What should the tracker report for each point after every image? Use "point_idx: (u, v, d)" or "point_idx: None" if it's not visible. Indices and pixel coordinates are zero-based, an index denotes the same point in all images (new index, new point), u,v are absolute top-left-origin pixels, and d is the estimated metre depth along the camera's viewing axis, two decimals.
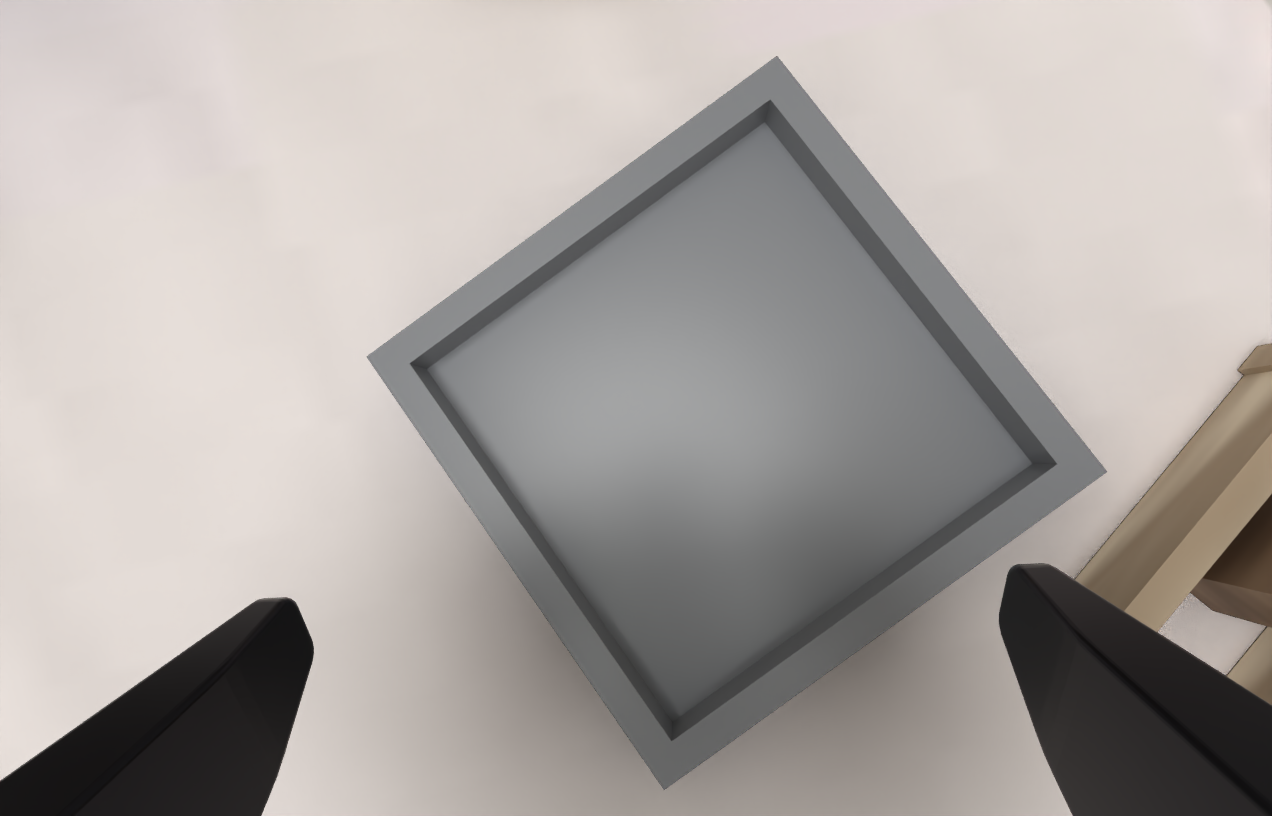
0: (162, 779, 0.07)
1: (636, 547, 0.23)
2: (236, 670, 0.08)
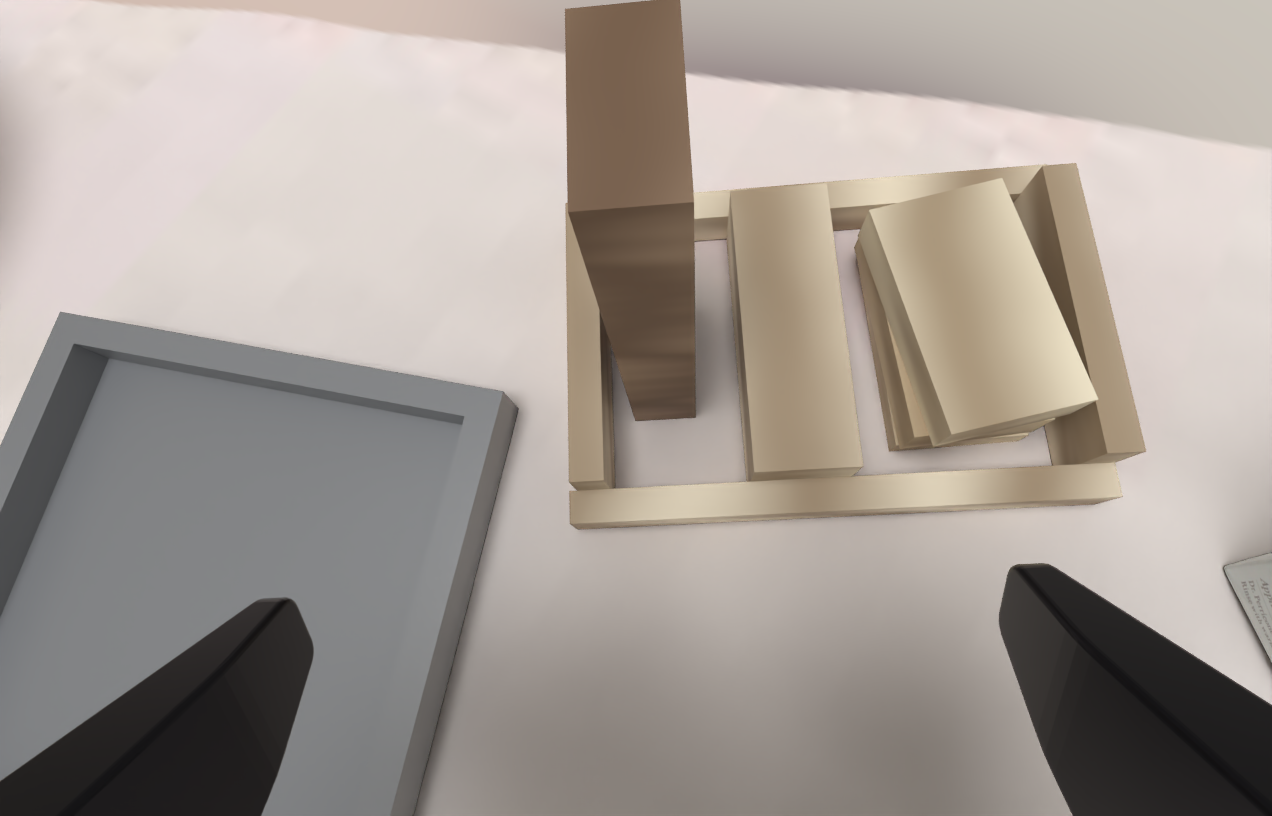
0: (162, 779, 0.07)
1: None
2: (236, 670, 0.08)
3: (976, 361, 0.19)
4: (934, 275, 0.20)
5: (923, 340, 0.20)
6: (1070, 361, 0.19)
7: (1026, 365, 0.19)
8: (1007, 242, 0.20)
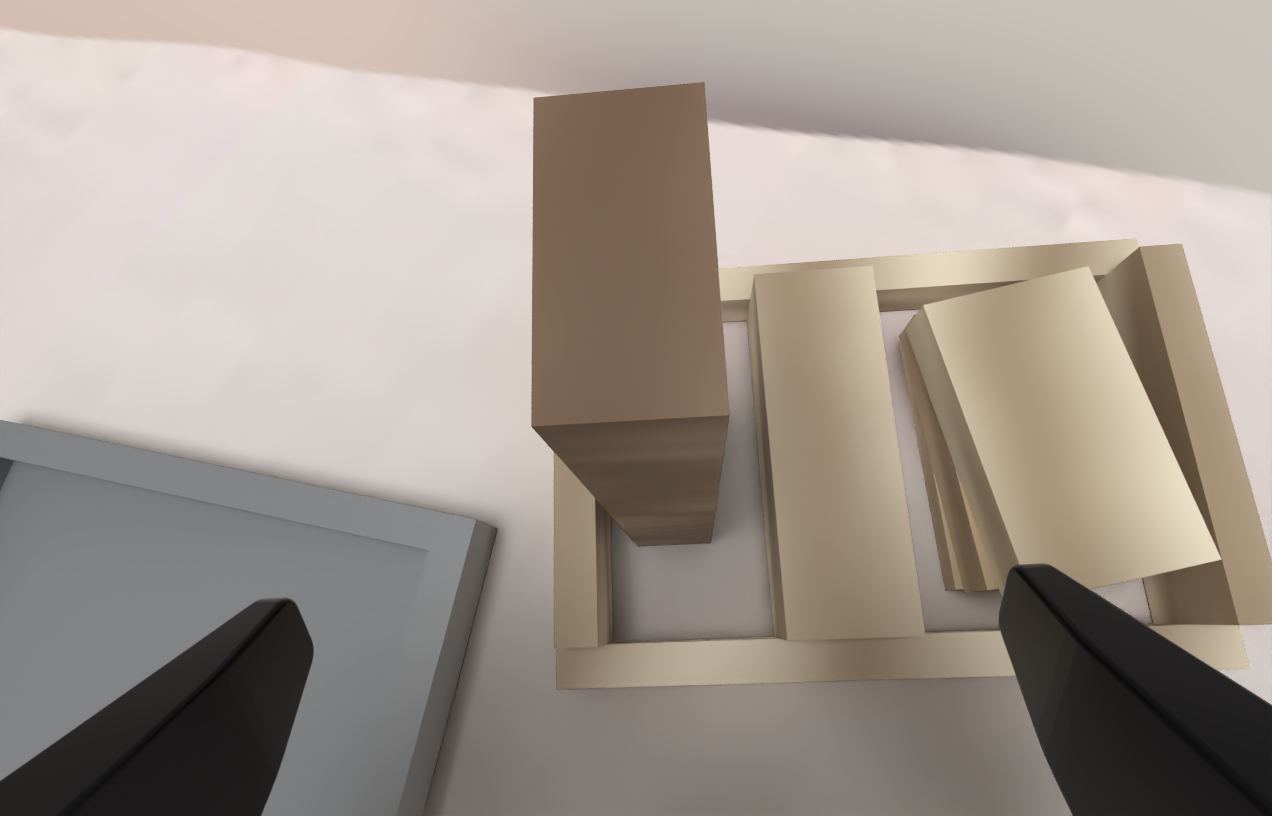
0: (162, 779, 0.07)
1: None
2: (236, 670, 0.08)
3: (1062, 505, 0.15)
4: (1006, 391, 0.16)
5: (994, 477, 0.16)
6: (1182, 506, 0.15)
7: (1126, 511, 0.15)
8: (1097, 349, 0.16)
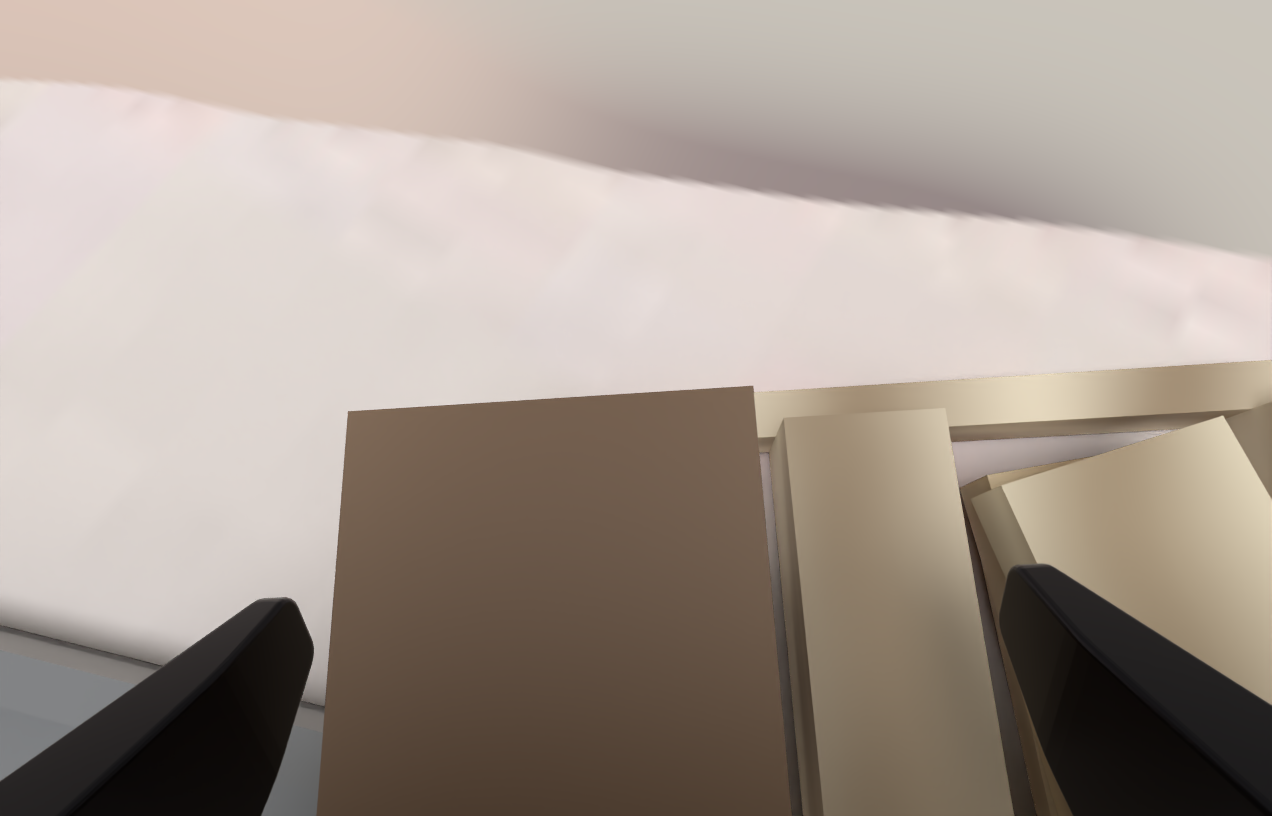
0: (162, 779, 0.07)
1: None
2: (236, 670, 0.08)
3: None
4: (1132, 609, 0.12)
5: None
6: None
7: None
8: (1253, 539, 0.12)
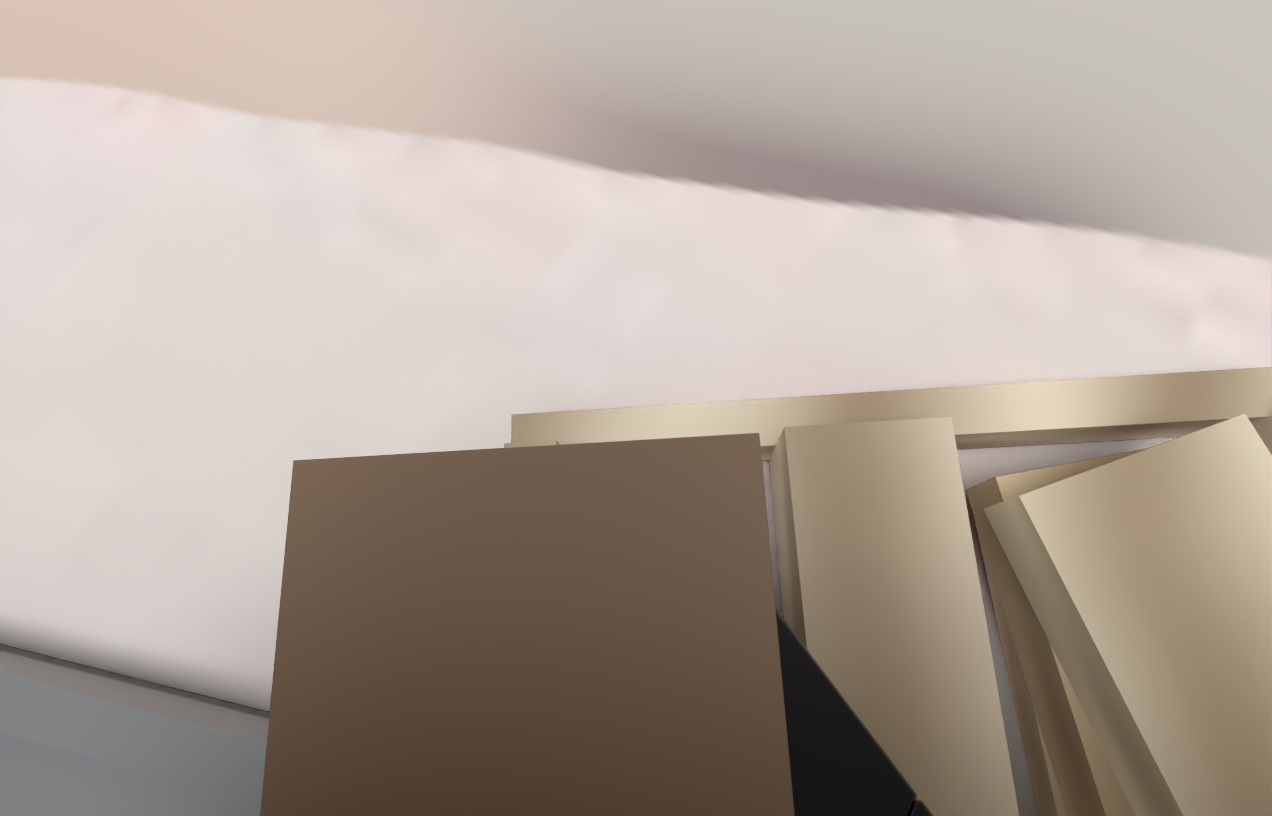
0: None
1: None
2: None
3: None
4: (1163, 623, 0.11)
5: (1170, 766, 0.10)
6: None
7: None
8: None
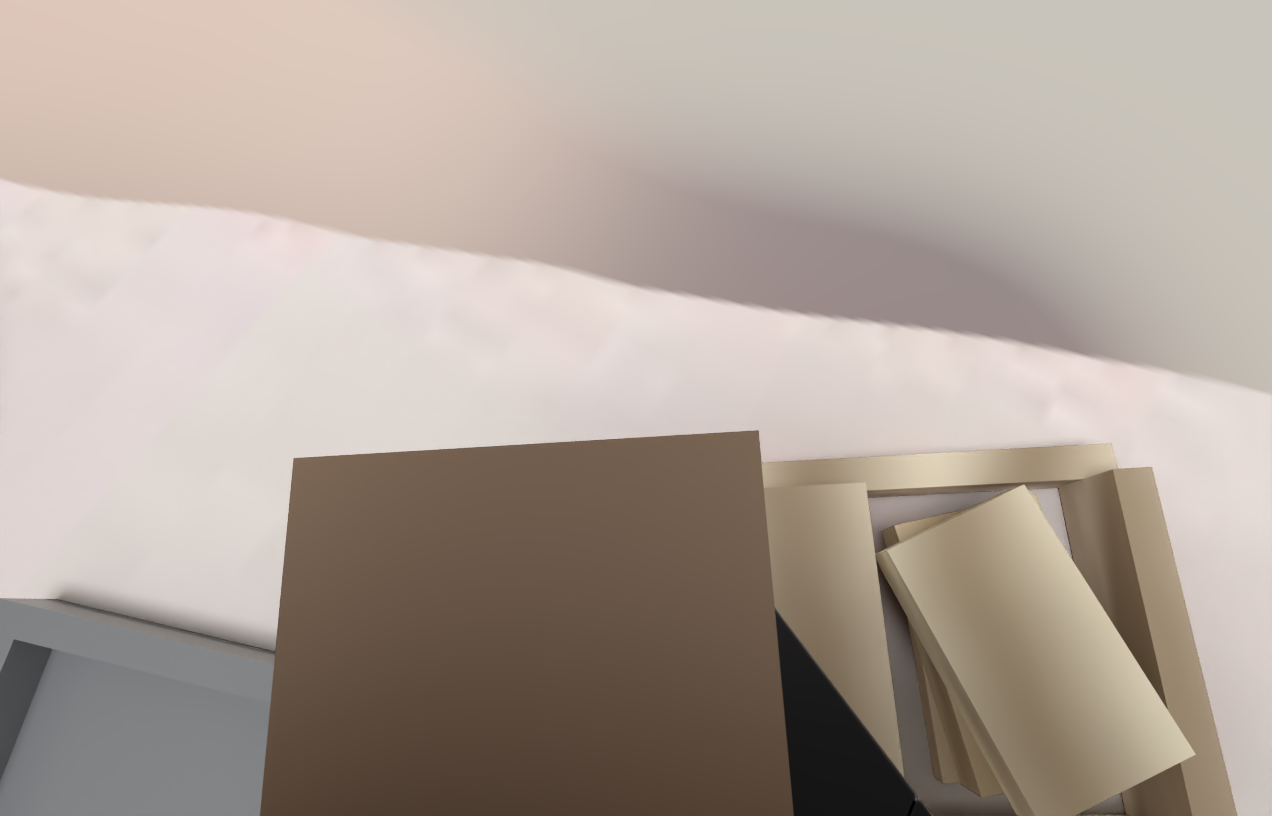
0: None
1: None
2: None
3: (1049, 728, 0.17)
4: (978, 623, 0.18)
5: (985, 712, 0.17)
6: (1153, 709, 0.17)
7: (1106, 723, 0.17)
8: (1048, 566, 0.18)
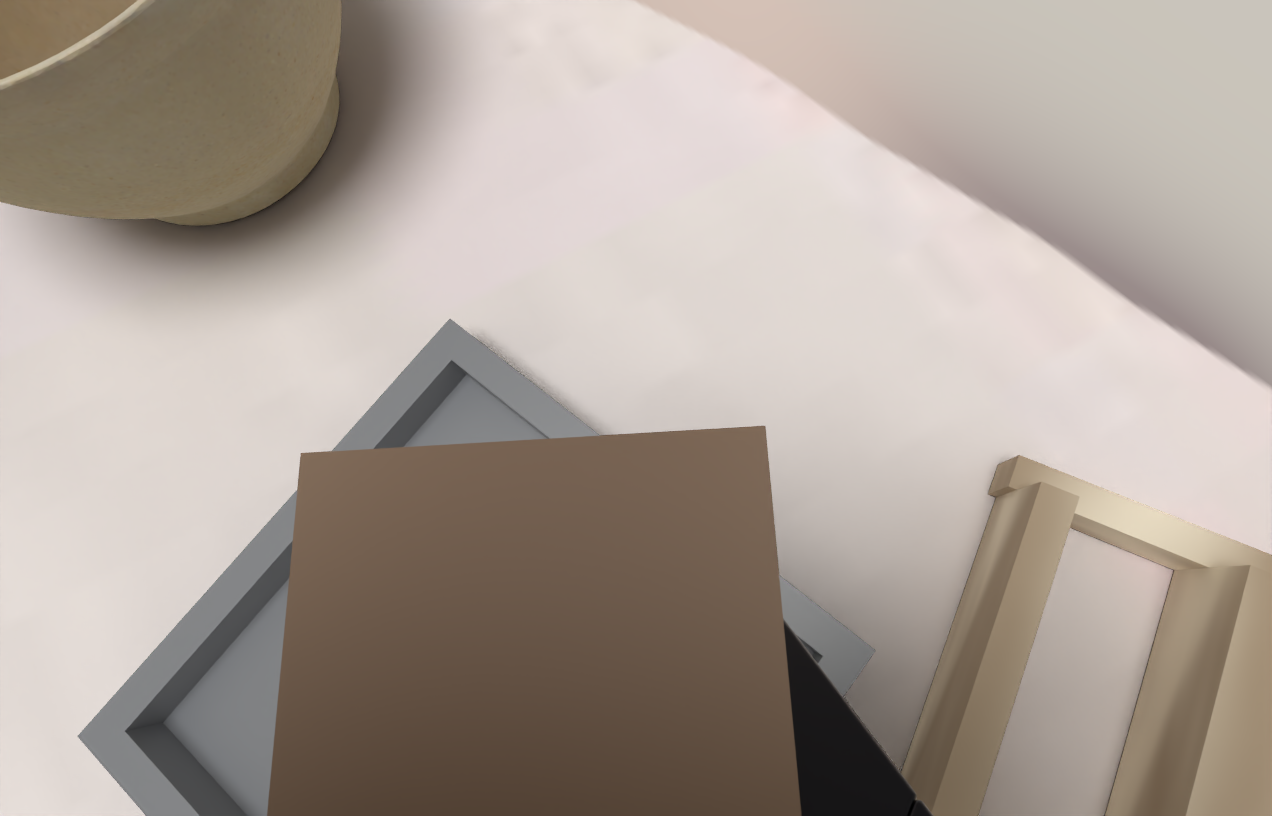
0: None
1: None
2: None
3: None
4: None
5: None
6: None
7: None
8: None
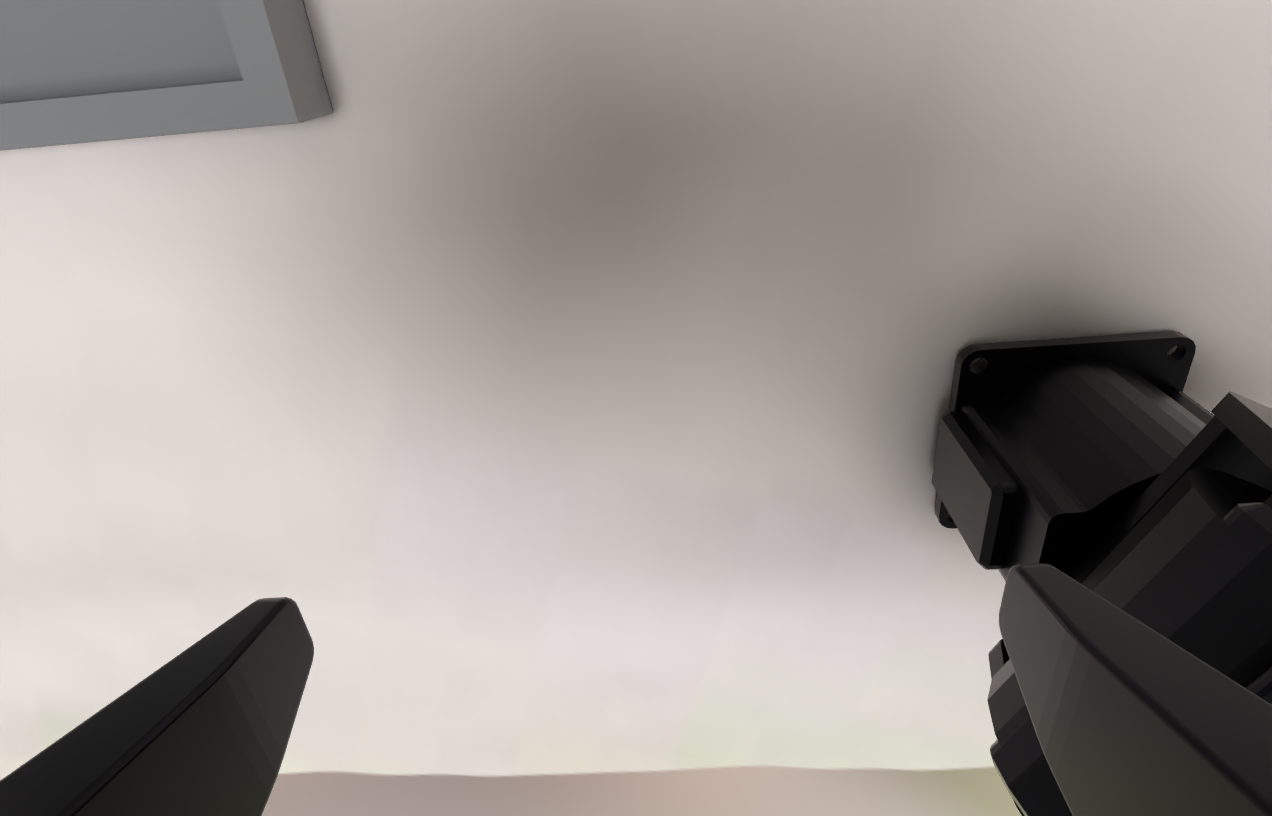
0: (162, 779, 0.07)
1: None
2: (236, 670, 0.08)
3: None
4: None
5: None
6: None
7: None
8: None
